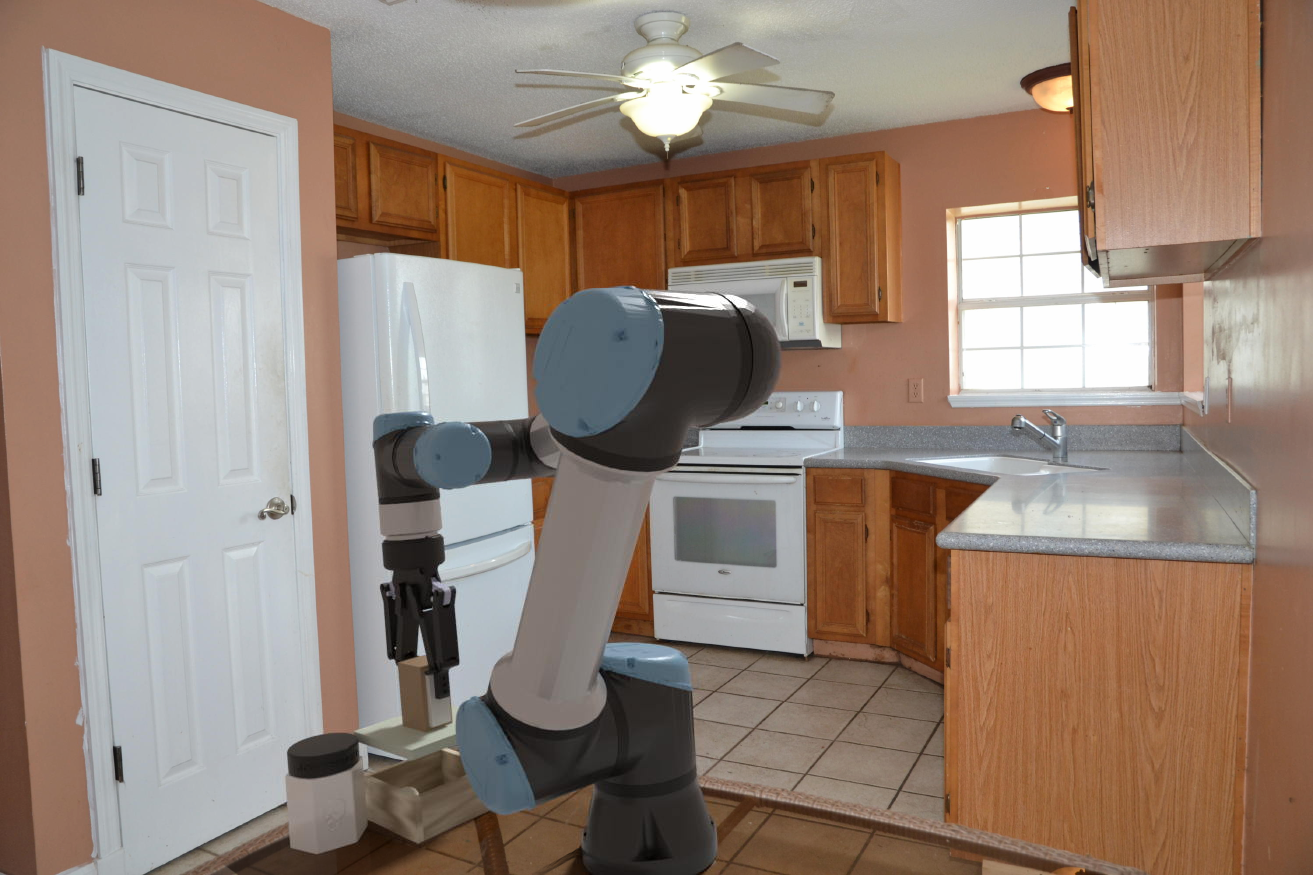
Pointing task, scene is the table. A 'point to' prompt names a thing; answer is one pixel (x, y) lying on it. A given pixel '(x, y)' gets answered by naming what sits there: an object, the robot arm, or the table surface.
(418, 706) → the lid
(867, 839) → the table surface
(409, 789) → the ball
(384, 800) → the box
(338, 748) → the jar
